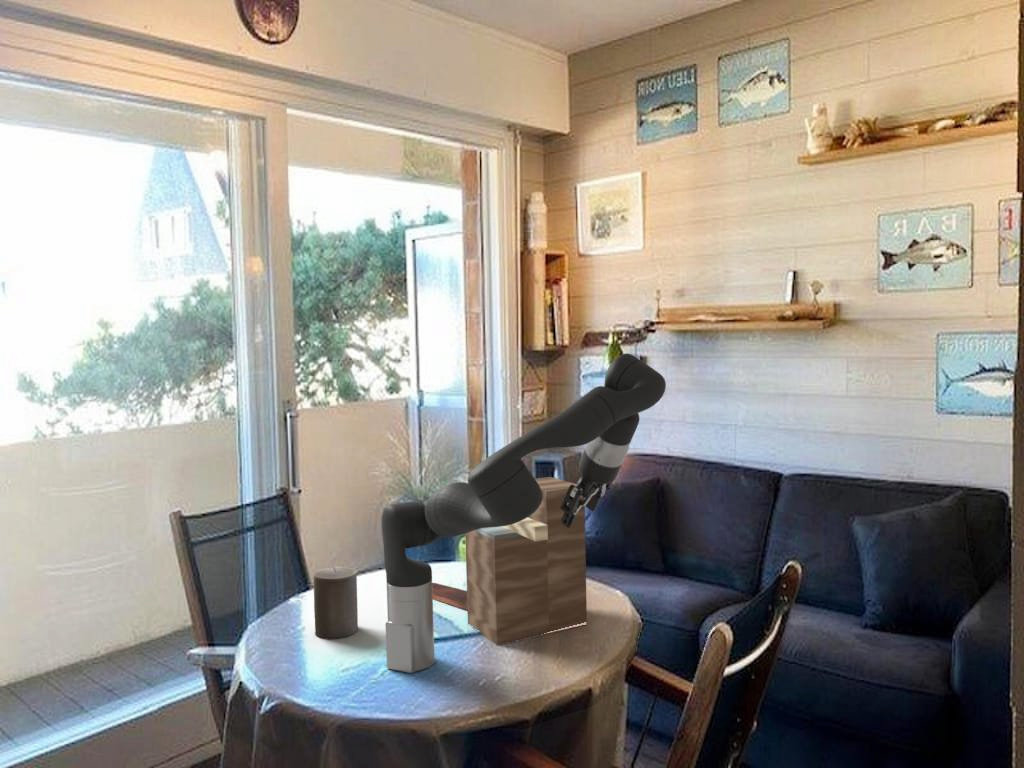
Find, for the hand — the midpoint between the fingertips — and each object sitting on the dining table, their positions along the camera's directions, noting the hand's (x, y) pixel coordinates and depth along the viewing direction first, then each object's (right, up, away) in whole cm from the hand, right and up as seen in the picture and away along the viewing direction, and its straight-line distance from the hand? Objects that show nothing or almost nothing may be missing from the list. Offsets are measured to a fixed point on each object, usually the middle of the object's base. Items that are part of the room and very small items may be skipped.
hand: (578, 516), depth 159 cm
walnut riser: (-10, -29, +27) cm, 41 cm away
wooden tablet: (-28, -29, +48) cm, 63 cm away
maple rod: (-12, -6, +18) cm, 22 cm away
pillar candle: (-53, -31, +26) cm, 66 cm away
